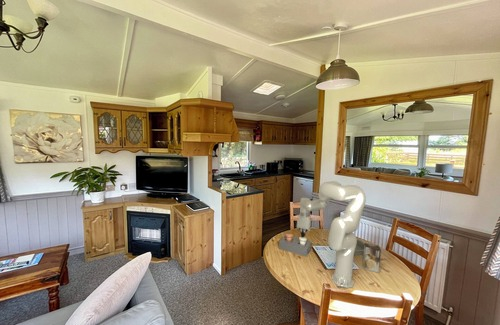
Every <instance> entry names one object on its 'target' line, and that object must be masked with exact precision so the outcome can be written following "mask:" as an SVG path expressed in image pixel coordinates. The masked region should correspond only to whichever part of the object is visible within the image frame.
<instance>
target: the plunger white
mask: <svg viewBox="0 0 500 325" xmlns="http://www.w3.org/2000/svg"><path fill="white" fill-rule="evenodd" d="M298 238H299V240H300V245H304V246H305V243H306V240H308V239H307V237H306V236H304V238H303V237H301V236H299V237H298Z"/></svg>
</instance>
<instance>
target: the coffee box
mask: <svg viewBox="0 0 500 325" xmlns="http://www.w3.org/2000/svg"><path fill="white" fill-rule="evenodd" d="M363 243H364V242H363ZM381 254H382V248H381V247H380V245H377V244H371V243H366V242H365V243H364V253H363V254H362V255H363V256H362V267H363V270H365V271H370V272H375V273H380V267H381V265H380V264H381Z"/></svg>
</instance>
